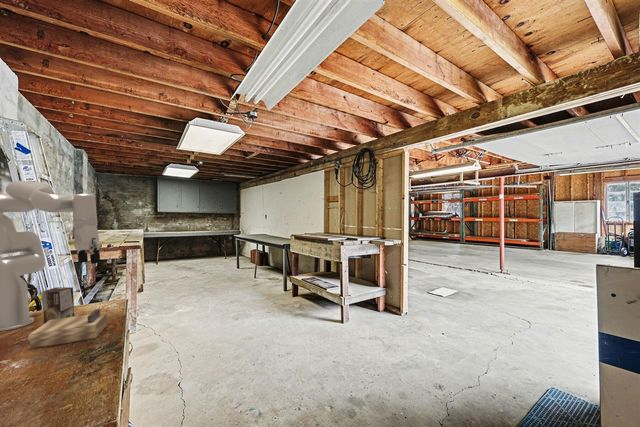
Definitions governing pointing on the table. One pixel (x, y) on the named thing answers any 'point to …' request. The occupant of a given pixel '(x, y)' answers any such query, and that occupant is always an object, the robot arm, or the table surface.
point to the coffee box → (58, 303)
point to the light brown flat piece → (67, 326)
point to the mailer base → (71, 336)
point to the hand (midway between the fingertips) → (89, 262)
